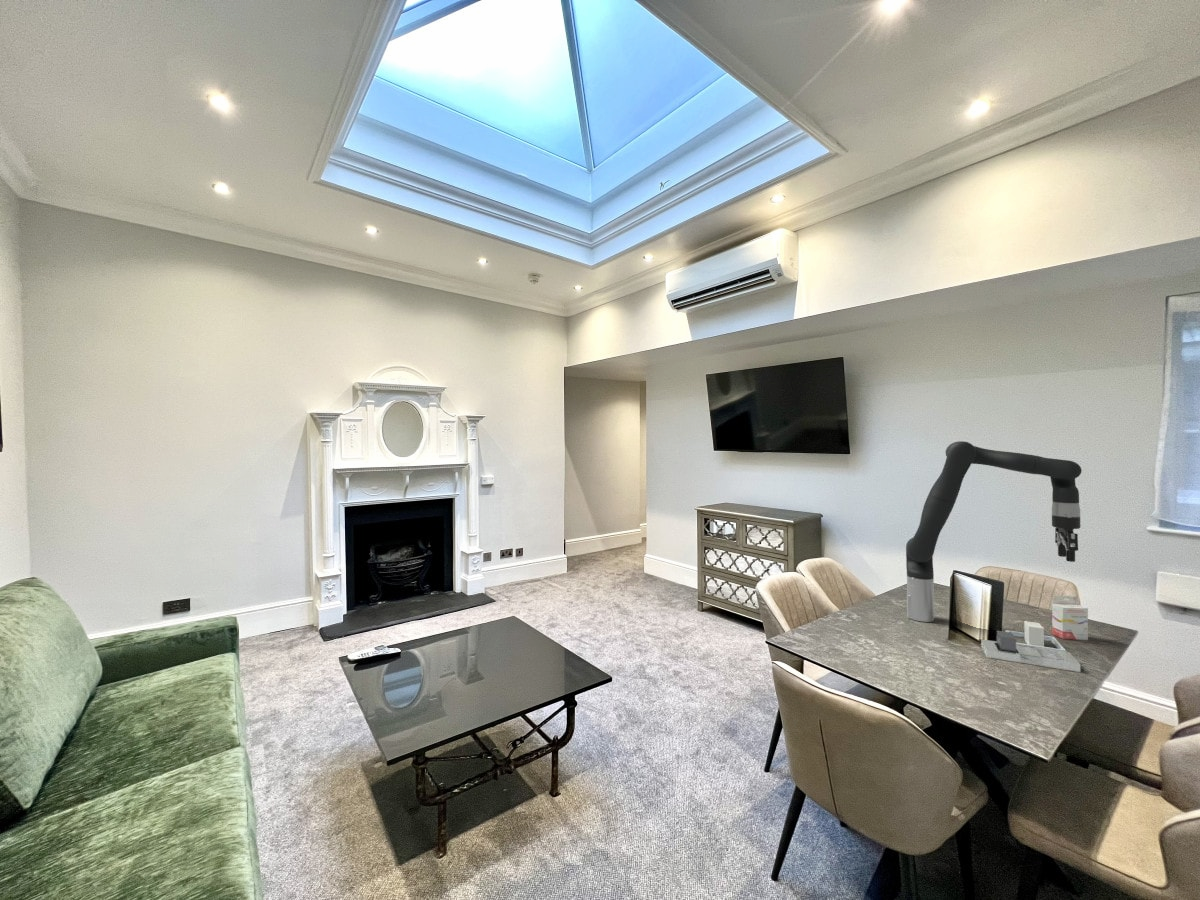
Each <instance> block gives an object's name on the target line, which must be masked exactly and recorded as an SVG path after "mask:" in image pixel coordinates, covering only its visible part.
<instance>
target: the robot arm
mask: <svg viewBox="0 0 1200 900" xmlns="http://www.w3.org/2000/svg"><path fill="white" fill-rule="evenodd" d="M945 456H946V458H945V462H944V465H943V468H942V471H941V473H940V475H939V476H938V477H937V479H936V480H935V482H934V483H933V485H932V487H931V489H930V490H929V492H928V495H927V497H926V499H925V501H924V504H923V508H922V512H921V515H920V522H919V524H918V525H919V526H918V528H917V530H916V532H915V534H914V535H913V537H912V538H910V539H908V541H906V542H907V543H906V545H905V556H906V558H905V561H906V562H905V563H906V564H905V565H906V566H905V567H906V615H907V619H910V620H913V621H918V622H924V623H925V622H926V623H928V622H929V623H930V622H932V623H933V622H934V621H935V587H934V586H935V585H934V584H935V583H934V580H935V579H934V562H933V560H934V559H933V558H934V554H935V550H936V549H935V548H936V546H937V544H938V543H937V542H938V538H939V536H940V534H941V532H942V530H943V528H944V526H945V525H946V523H947V521H948V518H949V517H950V515H951V513H952V511H953V509H954V506H955V504H956V501H957V498H958V497H959V496H958V495H959V492H960V490H961V487H962V483H963V480H964V478H965V477H966V474H967V472H968V470H969V469H970V467H971V465H982V466H983V465H984V466H989V467H995V468H1000V469H1005V470H1008V471H1014V472H1018V473H1024V474H1031V475H1039V476H1045V477H1049V478H1050V483H1051V486H1052V496H1051V498H1052V503H1051V526H1052V527H1053V528H1054V530H1055V531H1054V533H1055V537H1054V540H1055V541H1054V542H1055V544H1056V546H1057V556H1058V557H1061V558H1063V557H1064V558H1065V561H1067V562H1070V563H1074V562H1076V552H1077V551H1079V537H1078V536H1079V534H1078V533H1074V530H1077V529H1078V530H1079V529H1081V507H1080V492H1079V489H1078V487H1077V485H1076V479H1077V478H1078V477H1080V475H1081V474H1082V471H1083V469H1082V467H1081V466H1080V464H1078V463H1077V462H1075V461H1072V460H1067V459H1058V458H1049V457H1044V456H1041V455H1040V456H1039V455H1035V454H1030V453H1029V454H1028V453H1022V452H1021V453H1020V452H1014V451H1013V452H1011V451H1002V450H994V449H993V450H992V449H988V448H984V447H979V446H976V445H973V444H972V443H970V442H968V441H960V440H959V441H954V442H952V443H950V444H949V445H948V446H947V447H946V448H945Z"/></svg>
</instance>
